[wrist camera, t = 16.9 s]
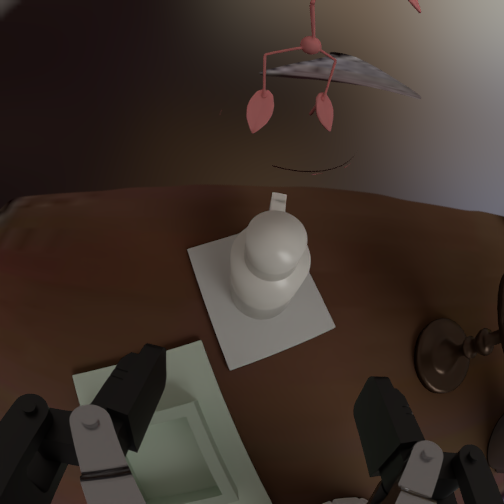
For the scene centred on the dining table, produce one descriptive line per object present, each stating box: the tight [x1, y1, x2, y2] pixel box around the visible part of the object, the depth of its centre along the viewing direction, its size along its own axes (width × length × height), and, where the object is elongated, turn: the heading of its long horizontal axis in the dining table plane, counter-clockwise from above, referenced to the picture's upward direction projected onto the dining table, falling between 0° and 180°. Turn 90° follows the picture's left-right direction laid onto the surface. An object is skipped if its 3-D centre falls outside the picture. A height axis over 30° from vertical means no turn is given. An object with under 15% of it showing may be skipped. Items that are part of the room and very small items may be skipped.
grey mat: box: [187, 233, 335, 370], centre depth 28 cm, size 13×11×1 cm
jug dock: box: [72, 340, 272, 504], centre depth 18 cm, size 20×14×4 cm
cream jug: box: [230, 192, 311, 320], centre depth 24 cm, size 9×6×10 cm
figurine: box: [247, 0, 421, 175], centre depth 24 cm, size 15×26×35 cm, turn 98°
